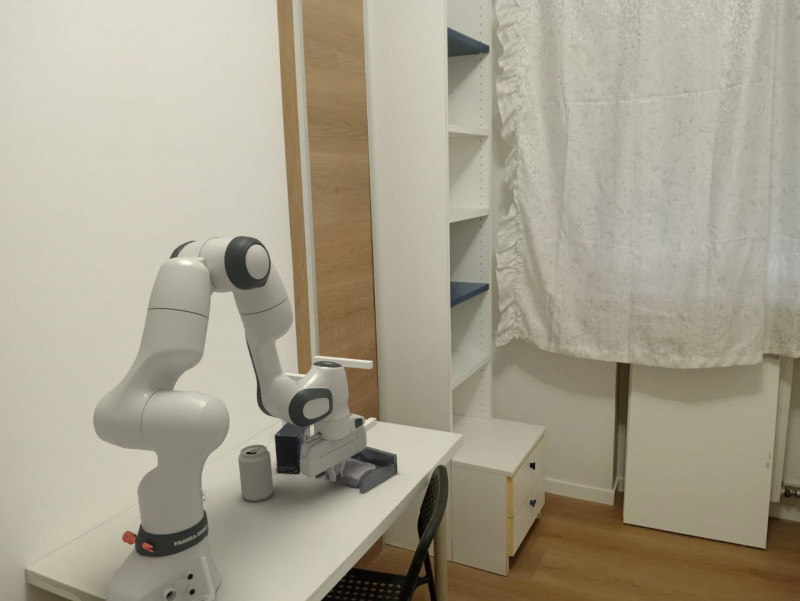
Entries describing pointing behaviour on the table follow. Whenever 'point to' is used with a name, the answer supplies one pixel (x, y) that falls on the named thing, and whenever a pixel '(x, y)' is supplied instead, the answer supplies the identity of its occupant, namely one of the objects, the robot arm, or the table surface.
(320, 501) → the table surface
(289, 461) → the small box
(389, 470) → the grey u-shaped bracket
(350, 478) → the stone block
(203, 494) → the adhesive hook
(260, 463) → the can
